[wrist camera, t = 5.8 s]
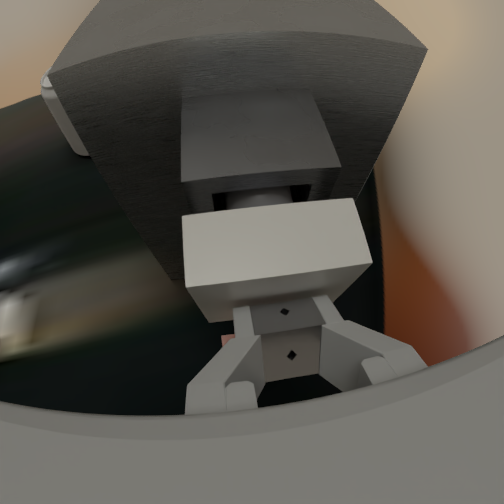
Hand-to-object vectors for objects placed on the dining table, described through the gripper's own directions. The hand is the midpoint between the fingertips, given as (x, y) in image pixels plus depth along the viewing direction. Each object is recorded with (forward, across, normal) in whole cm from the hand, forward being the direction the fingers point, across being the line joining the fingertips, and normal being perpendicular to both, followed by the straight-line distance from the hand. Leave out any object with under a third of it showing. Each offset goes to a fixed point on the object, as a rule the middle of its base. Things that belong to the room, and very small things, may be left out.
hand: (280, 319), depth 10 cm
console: (+20, 0, -4) cm, 20 cm away
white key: (+4, 0, +1) cm, 4 cm away
